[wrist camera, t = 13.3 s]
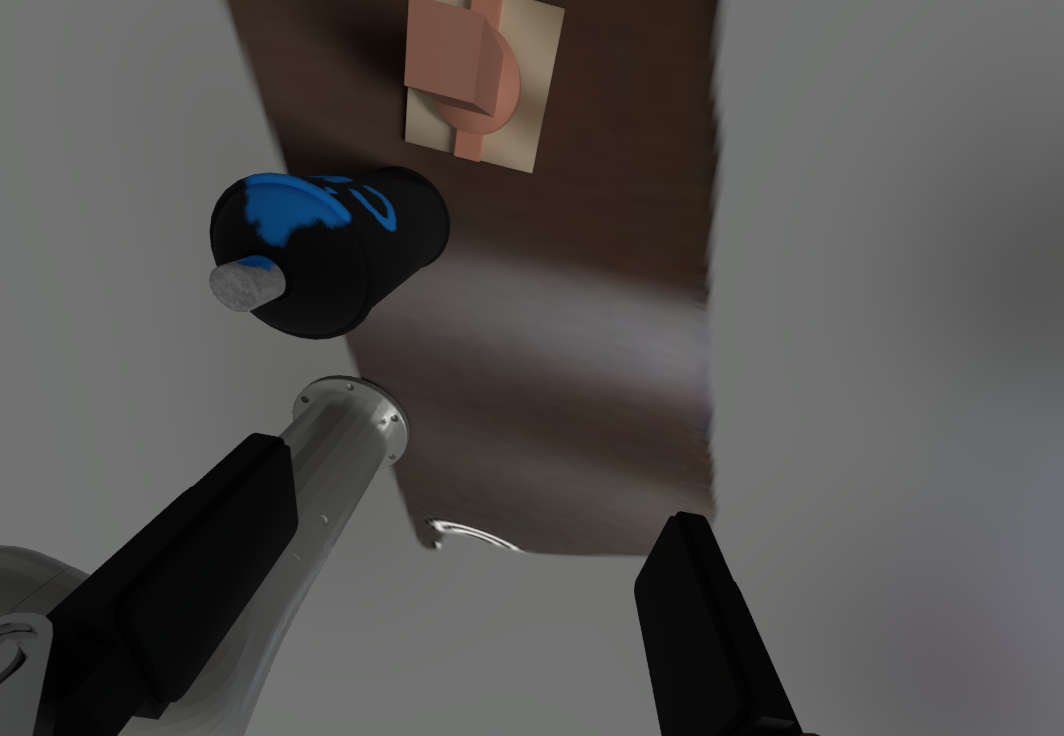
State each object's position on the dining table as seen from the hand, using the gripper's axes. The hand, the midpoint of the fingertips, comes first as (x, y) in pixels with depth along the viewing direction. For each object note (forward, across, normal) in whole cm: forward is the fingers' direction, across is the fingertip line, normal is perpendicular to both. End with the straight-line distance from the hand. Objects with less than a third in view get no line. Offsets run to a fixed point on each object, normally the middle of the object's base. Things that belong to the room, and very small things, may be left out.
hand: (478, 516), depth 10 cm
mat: (+28, +6, -12) cm, 31 cm away
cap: (+27, +6, -12) cm, 30 cm away
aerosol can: (+28, +11, -1) cm, 31 cm away
